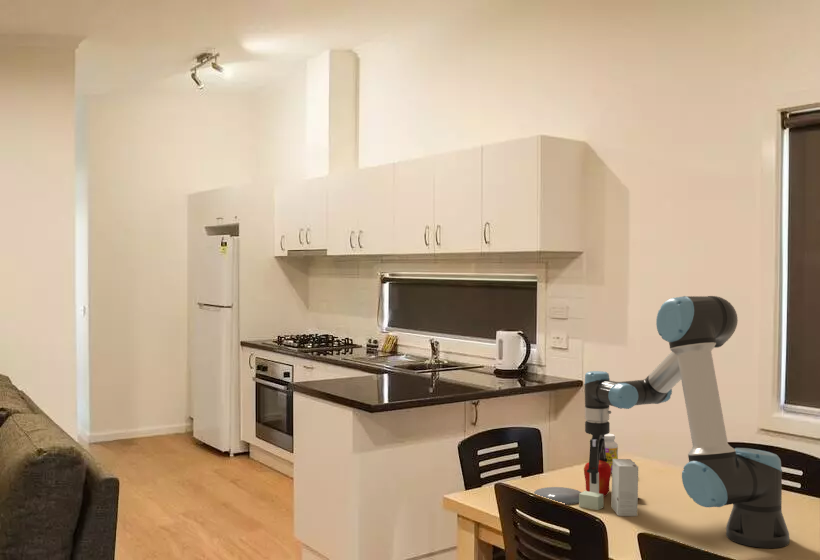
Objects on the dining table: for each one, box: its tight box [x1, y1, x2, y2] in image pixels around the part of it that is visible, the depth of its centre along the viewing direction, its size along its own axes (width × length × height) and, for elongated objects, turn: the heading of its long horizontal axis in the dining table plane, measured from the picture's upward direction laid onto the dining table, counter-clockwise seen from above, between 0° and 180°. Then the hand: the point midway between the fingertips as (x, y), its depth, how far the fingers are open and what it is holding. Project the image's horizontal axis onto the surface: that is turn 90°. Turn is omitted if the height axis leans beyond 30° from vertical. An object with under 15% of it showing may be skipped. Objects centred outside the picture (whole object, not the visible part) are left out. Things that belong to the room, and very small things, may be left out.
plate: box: [534, 486, 583, 505], centre depth 241 cm, size 15×15×1 cm
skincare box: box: [610, 458, 639, 517], centre depth 226 cm, size 8×6×15 cm
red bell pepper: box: [583, 460, 612, 498], centre depth 244 cm, size 9×8×12 cm
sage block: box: [578, 490, 604, 511], centre depth 232 cm, size 4×6×4 cm, turn 53°
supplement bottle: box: [604, 433, 619, 474], centre depth 273 cm, size 7×7×13 cm
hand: (597, 487), depth 244 cm, fingers open, 13 cm apart
